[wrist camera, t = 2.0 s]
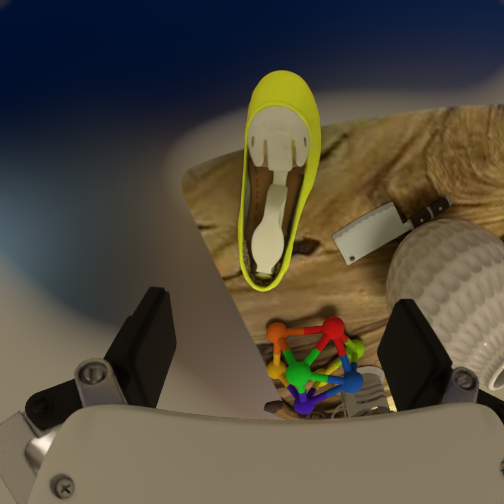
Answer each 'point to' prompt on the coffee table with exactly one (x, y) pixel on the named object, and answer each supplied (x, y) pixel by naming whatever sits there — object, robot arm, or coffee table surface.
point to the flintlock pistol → (287, 413)
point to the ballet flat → (276, 174)
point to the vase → (456, 291)
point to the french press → (365, 395)
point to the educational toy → (300, 370)
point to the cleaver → (381, 228)
